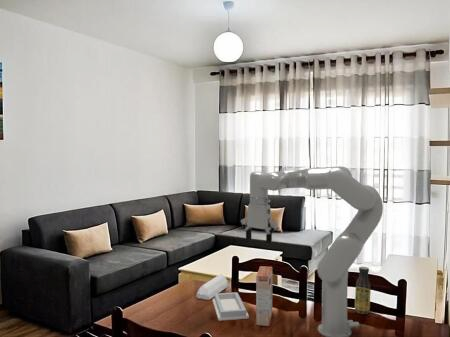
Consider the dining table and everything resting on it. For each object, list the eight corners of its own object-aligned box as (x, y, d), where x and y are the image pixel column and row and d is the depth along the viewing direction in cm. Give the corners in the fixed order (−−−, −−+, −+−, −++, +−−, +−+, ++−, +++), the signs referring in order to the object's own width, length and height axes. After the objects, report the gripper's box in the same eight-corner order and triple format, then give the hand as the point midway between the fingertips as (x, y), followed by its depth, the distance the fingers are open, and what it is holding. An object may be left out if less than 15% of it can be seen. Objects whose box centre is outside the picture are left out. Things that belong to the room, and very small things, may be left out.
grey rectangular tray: (239, 299, 192) (239, 292, 191) (248, 318, 170) (248, 310, 170) (212, 301, 190) (212, 293, 190) (218, 320, 168) (218, 312, 168)
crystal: (211, 294, 188) (232, 279, 210) (199, 285, 191) (222, 271, 213) (204, 306, 190) (226, 290, 212) (193, 297, 193) (216, 282, 214)
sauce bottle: (353, 313, 174) (353, 268, 173) (356, 308, 179) (356, 264, 179) (369, 316, 171) (369, 270, 170) (371, 311, 176) (371, 266, 176)
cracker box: (270, 327, 161) (270, 276, 160) (255, 326, 163) (255, 275, 162) (273, 313, 175) (273, 266, 174) (259, 312, 176) (259, 265, 175)
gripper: (281, 201, 166) (281, 242, 167) (246, 198, 176) (245, 237, 177) (272, 203, 160) (272, 246, 161) (236, 200, 170) (236, 240, 171)
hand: (258, 241), depth 169 cm, fingers open, 9 cm apart
